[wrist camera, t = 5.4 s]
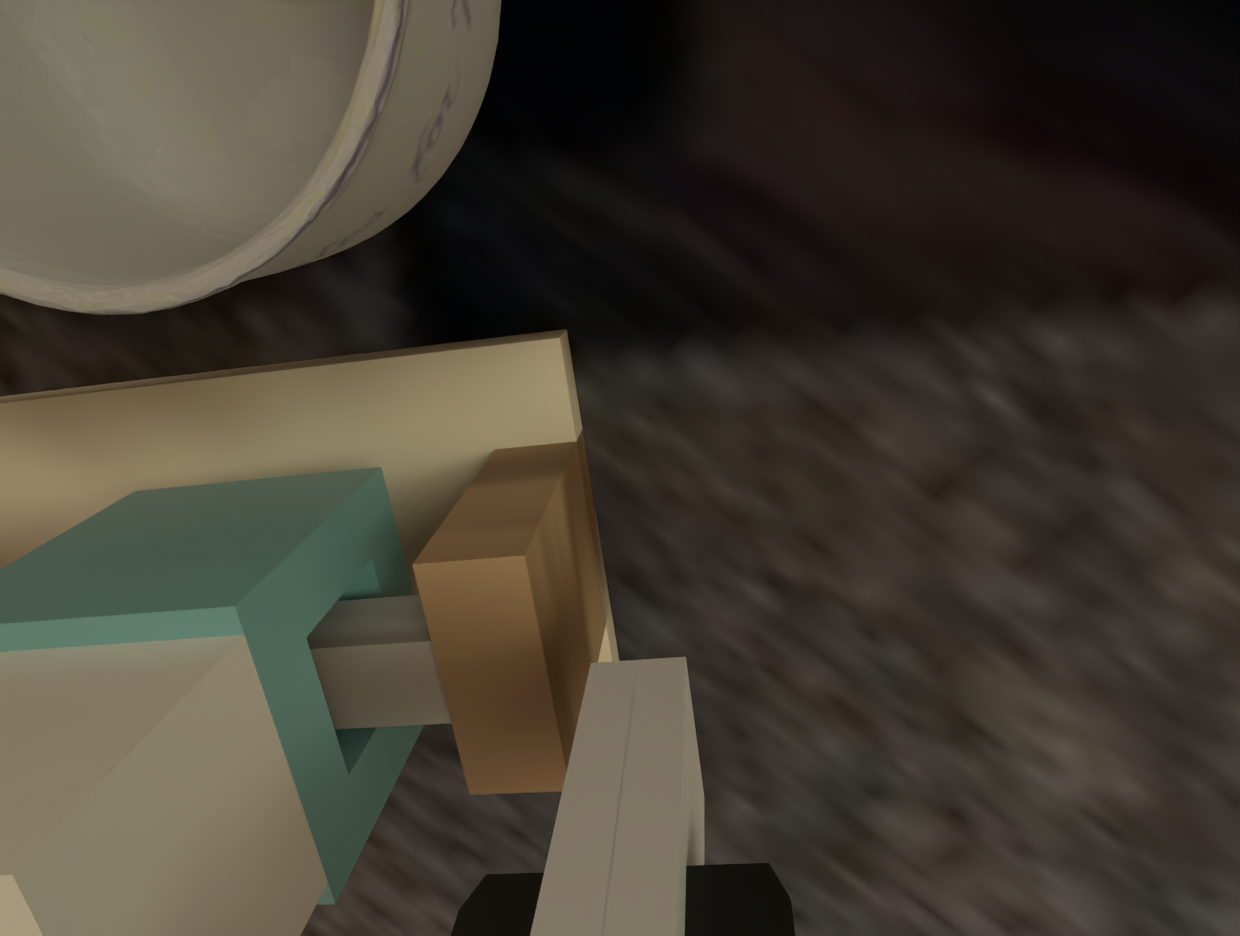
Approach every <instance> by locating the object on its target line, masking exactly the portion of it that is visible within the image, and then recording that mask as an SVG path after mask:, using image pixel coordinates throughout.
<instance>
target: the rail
mask: <svg viewBox="0 0 1240 936" xmlns="http://www.w3.org/2000/svg"><path fill="white" fill-rule="evenodd" d="M375 467H382V471H383V475H384V479H385V483H386V487H387V491H388V495H389V499H390V503H391V507H392V511H393V515H394V519H395V523H396V527H397V531H398V535H399V539H400V543H401V547H402V551H403V555H404V559H405V563H406V567H407V571H408V575H409V579H410V583H411V587H412V591H413V595H410V596H397V597H384V598H370V599H357V600H343V601H336V602H335V604H334V605H333V606H332V607H331V608H330V610H329V611H328V612H327V613H326V614H325V616H324V617H323V618H322V619H321V620H320V622H319V623H318V624H317V625H316V626H315V628H314V629H313V630H312V631H311V632H310V634H309V635H308V636H307V637H306V638H307V642H308V645H309V648H310V651H311V655H312V658H313V661H314V664H315V667H316V671H317V674H318V677H319V680H320V684H321V687H322V690H323V693H324V697H325V700H326V703H327V706H328V710H329V713H330V716H331V719H332V723H333V726H334V729H352V728H372V727H391V726H410V725H430V724H449V723H452V727H453V731H454V735H455V739H456V743H457V747H458V751H459V755H460V759H461V763H462V767H463V771H464V775H465V779H466V783H467V787H468V791H469V795H478V794H504V793H529V792H555V791H562V790H563V786H564V781H565V777H566V772H567V768H568V763H569V759H570V754H571V750H572V745H573V741H574V736H575V732H576V727H577V723H578V718H579V714H580V709H581V705H582V700H583V696H584V691H585V687H586V682H587V678H588V673H589V669H590V665H591V663H600V662H615V661H619V656H618V650H617V643H616V637H615V631H614V624H613V618H612V612H611V606H610V599H609V593H608V587H607V580H606V574H605V568H604V561H603V555H602V549H601V543H600V536H599V530H598V524H597V517H596V511H595V505H594V498H593V492H592V486H591V480H590V473H589V467H588V461H587V454H586V448H585V442H584V435H583V429H582V423H581V417H580V410H579V404H578V398H577V391H576V385H575V379H574V372H573V366H572V360H571V354H570V347H569V341H568V335H567V329H564V330H556V331H547V332H539V333H530V334H522V335H514V336H505V337H497V338H488V339H480V340H472V341H463V342H455V343H446V344H438V345H430V346H421V347H413V348H404V349H396V350H387V351H379V352H371V353H362V354H354V355H345V356H337V357H329V358H320V359H312V360H303V361H295V362H287V363H278V364H270V365H261V366H253V367H244V368H236V369H228V370H219V371H211V372H202V373H194V374H186V375H177V376H169V377H160V378H152V379H143V380H135V381H127V382H118V383H110V384H101V385H93V386H85V387H76V388H68V389H59V390H51V391H43V392H34V393H26V394H17V395H9V396H0V569H1V568H3V567H5V566H7V565H8V564H10V563H12V562H13V561H15V560H17V559H19V558H20V557H22V556H24V555H26V554H27V553H29V552H31V551H32V550H34V549H36V548H38V547H39V546H41V545H43V544H44V543H46V542H48V541H50V540H51V539H53V538H55V537H56V536H58V535H60V534H62V533H63V532H65V531H67V530H68V529H70V528H72V527H74V526H75V525H77V524H79V523H81V522H82V521H84V520H86V519H87V518H89V517H91V516H93V515H94V514H96V513H98V512H99V511H101V510H103V509H105V508H106V507H108V506H110V505H111V504H113V503H115V502H117V501H118V500H120V499H122V498H124V497H125V496H127V495H129V494H130V493H132V492H134V491H141V490H151V489H161V488H172V487H182V486H192V485H202V484H212V483H222V482H233V481H243V480H253V479H263V478H273V477H284V476H294V475H304V474H314V473H324V472H334V471H345V470H355V469H365V468H375Z"/></svg>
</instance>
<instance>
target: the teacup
mask: <svg viewBox="0 0 1240 936" xmlns="http://www.w3.org/2000/svg"><path fill="white" fill-rule="evenodd" d="M500 9H501V0H0V294H3V295H7V296H10V297H13V298H16V299H20V300H23V301H26V302H29V303H33V304H36V305H40V306H45V307H50V308H55V309H60V310H65V311H71V312H80V313H88V314H96V315H121V314H145V313H148V312H152V311H158V310H164V309H169V308H175V307H179V306H182V305H185V304H188V303H192V302H195V301H198V300H201V299H204V298H206V297H208V296H211V295H213V294H216V293H218V292H221V291H223V290H226V289H228V288H230V287H233V286H235V285H237V284H238V283H240V282H243V281H247V280H251V279H255V278H259V277H263V276H267V275H271V274H275V273H279V272H282V271H285V270H288V269H292V268H295V267H298V266H301V265H305V264H308V263H311V262H314V261H317V260H320V259H323V258H326V257H328V256H331V255H333V254H336V253H338V252H341V251H343V250H346V249H348V248H350V247H352V246H354V245H356V244H358V243H360V242H362V241H364V240H366V239H368V238H370V237H372V236H374V235H376V234H377V233H379V232H380V231H382V230H383V229H385V228H386V227H388V226H389V225H391V224H392V223H393V222H395V221H396V220H397V219H399V218H400V217H401V216H403V215H404V214H405V213H407V212H408V211H409V210H410V209H411V208H412V207H413V206H415V205H416V204H417V203H418V202H419V201H420V200H421V199H422V198H423V197H424V196H425V195H426V194H427V193H428V191H429V190H430V189H431V188H432V187H433V186H434V185H435V184H436V182H437V181H438V180H439V179H440V178H441V177H442V176H443V174H444V173H445V171H446V170H447V168H448V167H449V165H450V164H451V162H452V161H453V159H454V158H455V156H456V155H457V153H458V152H459V150H460V149H461V147H462V145H463V143H464V141H465V139H466V138H467V136H468V134H469V132H470V130H471V128H472V125H473V123H474V121H475V118H476V116H477V114H478V111H479V109H480V107H481V104H482V101H483V98H484V95H485V92H486V89H487V86H488V83H489V80H490V76H491V71H492V67H493V62H494V57H495V52H496V47H497V42H498V34H499V22H500Z"/></svg>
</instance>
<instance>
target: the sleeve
mask: <svg viewBox="0 0 1240 936" xmlns="http://www.w3.org/2000/svg"><path fill="white" fill-rule="evenodd" d="M410 595H413V591H412V587H411V583H410V579H409V575H408V571H407V567H406V563H405V559H404V555H403V551H402V547H401V543H400V539H399V535H398V531H397V527H396V523H395V519H394V515H393V511H392V507H391V503H390V499H389V495H388V491H387V487H386V483H385V479H384V475H383V471H382V467H375V468H365V469H355V470H345V471H334V472H324V473H314V474H304V475H294V476H284V477H273V478H263V479H253V480H243V481H233V482H222V483H212V484H202V485H192V486H182V487H172V488H161V489H151V490H141V491H134V492H132V493H130V494H129V495H127V496H125V497H124V498H122V499H120V500H118V501H117V502H115V503H113V504H111V505H110V506H108V507H106V508H105V509H103V510H101V511H99V512H98V513H96V514H94V515H93V516H91V517H89V518H87V519H86V520H84V521H82V522H81V523H79V524H77V525H75V526H74V527H72V528H70V529H68V530H67V531H65V532H63V533H62V534H60V535H58V536H56V537H55V538H53V539H51V540H50V541H48V542H46V543H44V544H43V545H41V546H39V547H38V548H36V549H34V550H32V551H31V552H29V553H27V554H26V555H24V556H22V557H20V558H19V559H17V560H15V561H13V562H12V563H10V564H8V565H7V566H5V567H3V568H1V569H0V936H300V935H301V933H302V931H303V930H304V928H305V926H306V924H307V922H308V920H309V918H310V916H311V914H312V912H313V910H314V908H315V907H316V905H317V904H336V902H337V900H338V898H339V896H340V894H341V892H342V890H343V888H344V885H345V883H346V881H347V879H348V877H349V875H350V873H351V871H352V869H353V867H354V865H355V863H356V861H357V859H358V857H359V855H360V853H361V851H362V849H363V847H364V845H365V843H366V841H367V839H368V837H369V835H370V833H371V831H372V829H373V827H374V825H375V823H376V821H377V819H378V817H379V815H380V813H381V811H382V809H383V807H384V805H385V803H386V801H387V799H388V797H389V795H390V793H391V791H392V789H393V787H394V785H395V783H396V781H397V779H398V777H399V775H400V773H401V771H402V769H403V767H404V765H405V763H406V761H407V759H408V757H409V755H410V753H411V751H412V748H413V746H414V744H415V742H416V740H417V738H418V736H419V734H420V732H421V730H422V728H423V726H424V725H410V726H391V727H372V728H352V729H334V726H333V723H332V719H331V716H330V713H329V710H328V706H327V703H326V700H325V697H324V693H323V690H322V687H321V684H320V680H319V677H318V674H317V671H316V667H315V664H314V661H313V658H312V655H311V651H310V648H309V645H308V642H307V638H306V637H307V636H308V635H309V634H310V632H311V631H312V630H313V629H314V628H315V626H316V625H317V624H318V623H319V622H320V620H321V619H322V618H323V617H324V616H325V614H326V613H327V612H328V611H329V610H330V608H331V607H332V606H333V605H334V604H335V602H336V601H343V600H357V599H370V598H384V597H397V596H410Z"/></svg>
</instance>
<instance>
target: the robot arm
mask: <svg viewBox="0 0 1240 936" xmlns="http://www.w3.org/2000/svg"><path fill="white" fill-rule="evenodd" d="M451 936H795V931H794V923H793V914H792V906H791V899H790V897H789V896H788V894H787V892H786V891H785V889H784V887H783V886H782V884H781V882H780V881H779V879H778V877H777V876H776V874H775V872H774V871H773V869H772V868H771V866H770V864H769V863H755V864H723V865H704V792H703V784H702V777H701V769H700V761H699V754H698V746H697V738H696V731H695V723H694V716H693V708H692V700H691V693H690V685H689V678H688V670H687V662H686V657H675V658H660V659H645V660H630V661H615V662H600V663H591V665H590V669H589V673H588V678H587V682H586V687H585V691H584V696H583V700H582V705H581V709H580V714H579V718H578V723H577V727H576V732H575V736H574V741H573V745H572V750H571V754H570V759H569V763H568V768H567V772H566V777H565V781H564V786H563V790H562V795H561V799H560V804H559V808H558V813H557V817H556V822H555V826H554V831H553V835H552V840H551V844H550V849H549V853H548V857H547V862H546V866H545V871H544V873H519V874H486V876H485V877H484V878H483V880H482V881H481V882H480V884H479V885H478V886H477V887H476V889H475V890H474V891H473V893H472V894H471V895H470V897H469V898H468V899H467V901H466V902H465V903H464V904H463V906H462V907H461V908H460V910H459V912H458V915H457V918H456V921H455V924H454V927H453V931H452V934H451Z"/></svg>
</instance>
